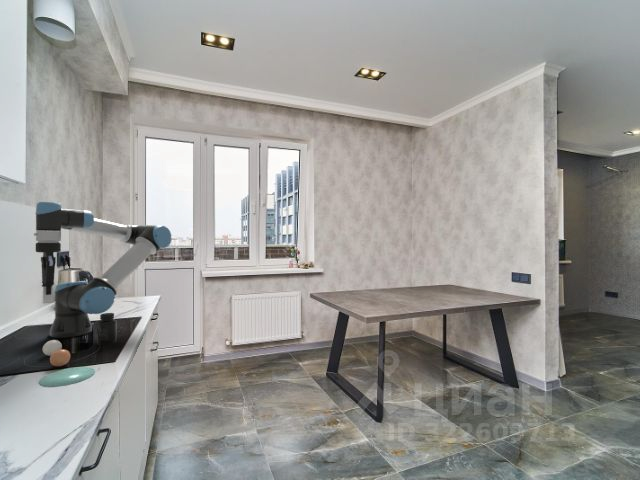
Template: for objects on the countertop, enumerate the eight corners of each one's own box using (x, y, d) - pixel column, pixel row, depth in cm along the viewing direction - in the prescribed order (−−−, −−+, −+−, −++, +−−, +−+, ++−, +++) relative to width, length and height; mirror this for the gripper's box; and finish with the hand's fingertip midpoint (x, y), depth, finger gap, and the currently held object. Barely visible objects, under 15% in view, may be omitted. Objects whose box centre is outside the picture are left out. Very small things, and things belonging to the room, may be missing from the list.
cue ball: (41, 355, 120) (41, 340, 120) (60, 351, 124) (60, 337, 124) (43, 359, 117) (44, 343, 117) (63, 355, 121) (63, 340, 121)
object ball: (48, 365, 111) (48, 349, 111) (68, 361, 115) (68, 345, 115) (51, 370, 107) (51, 353, 107) (72, 365, 111) (72, 349, 111)
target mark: (35, 376, 103) (35, 375, 103) (88, 364, 113) (88, 363, 113) (43, 391, 93) (43, 390, 93) (100, 376, 104) (100, 375, 104)
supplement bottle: (120, 341, 137) (120, 313, 137) (103, 346, 131) (104, 316, 131) (109, 339, 140) (110, 311, 140) (93, 344, 134) (93, 314, 134)
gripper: (33, 241, 128) (32, 301, 129) (38, 242, 120) (37, 306, 120) (57, 241, 134) (56, 299, 134) (64, 242, 125) (63, 303, 125)
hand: (47, 302), depth 127 cm, fingers closed
